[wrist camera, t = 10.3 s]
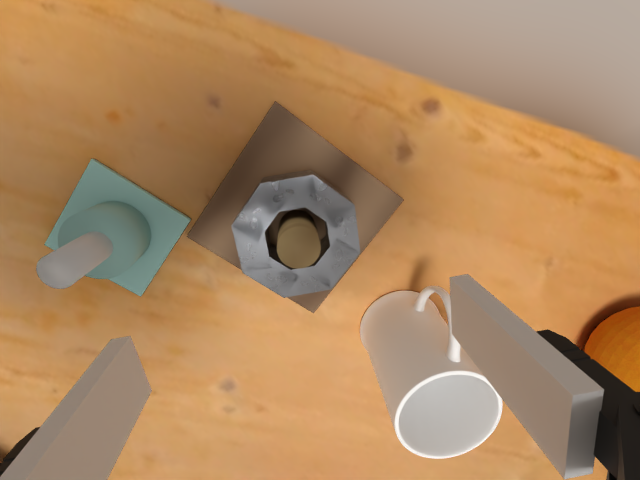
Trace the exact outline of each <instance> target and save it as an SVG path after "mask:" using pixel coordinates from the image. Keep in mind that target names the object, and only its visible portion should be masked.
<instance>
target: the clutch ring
mask: <svg viewBox="0 0 640 480" xmlns="http://www.w3.org/2000/svg"><path fill="white" fill-rule="evenodd" d="M305 207H306V208H307V209H309V210H310V211H311V212H313V213H314V214H316V215H317V216H319V217H320V218H321V219H323V220H324V223H325V230H326V235H325V236H324V238H323V239H322V240H321V242H320V245H321V251H320V254H319V257H318V258H317V260H316V261H315V262H314V263H313V264H312V265H310V266H308V267H306V268H300V269H296V268H291V267H289V266H287V265H285V264H284V263H283V262H282V261H281V260H280V258H279V256H278V253H277V247H276V246H274V245H273V244H271V240H270V235H269V231H268V227H269V225H270V224H271V222H272V221H273V220H274V218H275V217H276V215H277V214H278V213H279V212H281V211H287V210H293V209H299V208H305ZM231 227H232V231H233V235H234V239H235V243H236V247H237V251H238V256H239V260H240V264H241V268H242V272H243V273H244V274H245V275H247V276H249V277H250V278H252V279H254V280H255V281H257V282H259V283H260V284H262V285H264V286H265V287H267V288H269V289H270V290H272V291H274V292H275V293H277V294H279V295H280V296H282V297H283V298H285V297H291V296H296V295H302V294H308V293H314V292H319V291H325V290H331V289H332V288H333V286H334V285H335V284H336V283H337V281H338V280H339V279H340V278H341V276H342V275H343V274H344V273H345V271H346V270H347V269H348V268H349V266H350V265H351V264H352V263H353V261H354V260H355V259H356V258H357V256H358V255H359V254H360V245H359V236H358V228H357V220H356V211H355V205H354V204H353V202H352V201H351V200H350V199H349V197H348V196H346V195H345V194H344V193H342V192H341V191H340V190H338V189H337V188H335V187H334V186H333V185H331V184H330V183H329V182H327V181H326V180H324V179H323V178H322V177H320V176H319V175H318V174H316V173H315V172H314V171H312V170H311V169H310V170H304V171H298V172H291V173H285V174H279V175H273V176H267V177H263V178H262V180H261V181H260V183H259V184H258V185H257V187H256V188H255V190H254V191H253V193H252V194H251V196H250V197H249V199H248V200H247V202H246V203H245V204H244V206H243V207H242V209H241V210H240V212H239V213H238V215H237V216H236V218H235V220H234V222H233V224H232V225H231Z"/></svg>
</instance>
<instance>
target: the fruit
mask: <svg viewBox="0 0 640 480" xmlns="http://www.w3.org/2000/svg"><path fill="white" fill-rule="evenodd" d="M584 352H585V353H586V354H588V355H589V356H590V358H591V359H594V360H595V361H597V362H598V363H599V364H600V365H602V366H603V367H604V368H606V369H607V370H608V371H609V372H611V373H612V374H613V375H615V376H616V377H617V378H618V379H620V380H621V381H622V382H624V383H625V384H626V385H627V386H629V387H630V388H631V389H633V390H634V391H635V392H640V306H639V307H632V308H627V309H624V310H622V311H620V312H617V313H615V314H612V315H611V316H610V317H608V318H607V319H605V320H604V321H603V322H601V323H600V324H599V325H598V326H597V328H596V329H595V330H594V331H593V332H592V333H591V335H590V337H589V339H588V341H587V343H586V345H585V349H584Z"/></svg>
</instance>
